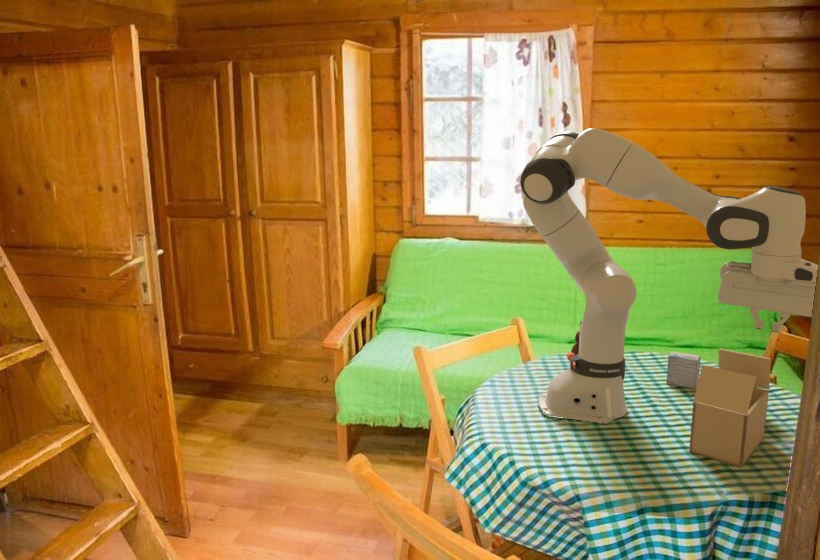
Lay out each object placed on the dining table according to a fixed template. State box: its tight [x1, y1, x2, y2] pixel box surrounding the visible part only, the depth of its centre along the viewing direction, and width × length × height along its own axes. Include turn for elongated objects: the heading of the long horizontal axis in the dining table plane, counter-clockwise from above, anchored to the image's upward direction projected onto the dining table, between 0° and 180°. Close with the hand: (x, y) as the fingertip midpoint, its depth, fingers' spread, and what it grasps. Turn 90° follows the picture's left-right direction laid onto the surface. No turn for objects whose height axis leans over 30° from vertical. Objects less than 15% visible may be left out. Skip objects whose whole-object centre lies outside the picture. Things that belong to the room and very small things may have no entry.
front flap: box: [693, 364, 756, 414], centre depth 140 cm, size 11×8×1 cm
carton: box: [688, 387, 770, 468], centre depth 147 cm, size 11×17×12 cm, turn 138°
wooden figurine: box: [570, 320, 583, 355], centre depth 196 cm, size 7×6×15 cm
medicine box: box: [666, 351, 701, 390], centre depth 182 cm, size 8×4×9 cm, turn 58°
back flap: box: [718, 348, 771, 391], centre depth 150 cm, size 11×8×1 cm
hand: (767, 330), depth 137 cm, fingers open, 2 cm apart
